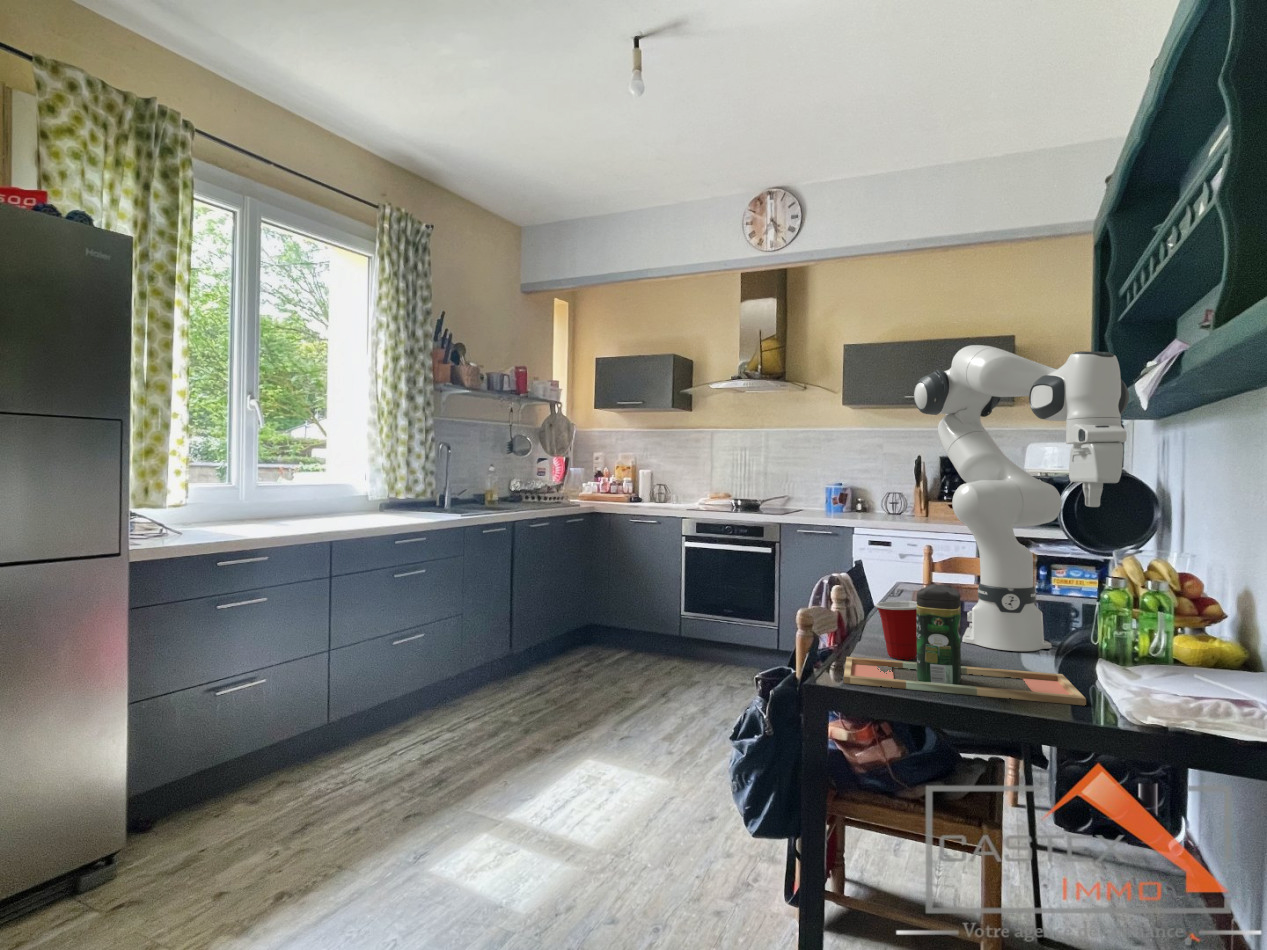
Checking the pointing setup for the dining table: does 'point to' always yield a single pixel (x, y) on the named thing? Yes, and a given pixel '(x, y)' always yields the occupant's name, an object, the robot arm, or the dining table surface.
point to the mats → (1031, 683)
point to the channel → (1073, 698)
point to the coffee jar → (939, 635)
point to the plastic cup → (899, 628)
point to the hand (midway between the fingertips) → (1092, 506)
